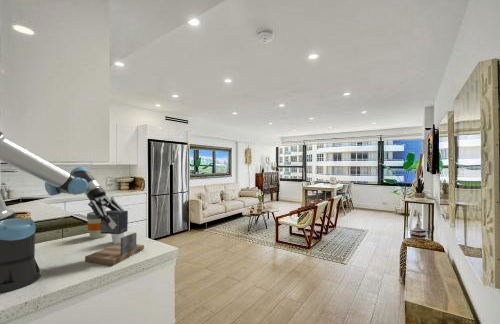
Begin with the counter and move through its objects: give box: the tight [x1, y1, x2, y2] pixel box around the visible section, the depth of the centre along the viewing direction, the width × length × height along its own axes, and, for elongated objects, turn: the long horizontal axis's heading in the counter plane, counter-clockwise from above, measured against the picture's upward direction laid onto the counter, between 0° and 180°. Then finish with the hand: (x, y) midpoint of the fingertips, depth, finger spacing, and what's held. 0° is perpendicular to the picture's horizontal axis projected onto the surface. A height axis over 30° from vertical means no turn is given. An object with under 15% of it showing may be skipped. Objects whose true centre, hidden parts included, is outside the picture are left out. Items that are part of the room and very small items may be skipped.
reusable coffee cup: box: [86, 211, 108, 239], centre depth 148 cm, size 13×12×15 cm
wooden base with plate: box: [84, 232, 145, 266], centre depth 116 cm, size 20×16×10 cm
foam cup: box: [110, 231, 127, 245], centre depth 137 cm, size 10×9×13 cm
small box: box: [101, 209, 129, 235], centre depth 116 cm, size 11×6×10 cm, turn 83°
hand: (120, 225), depth 116 cm, fingers closed on small box, 7 cm apart
